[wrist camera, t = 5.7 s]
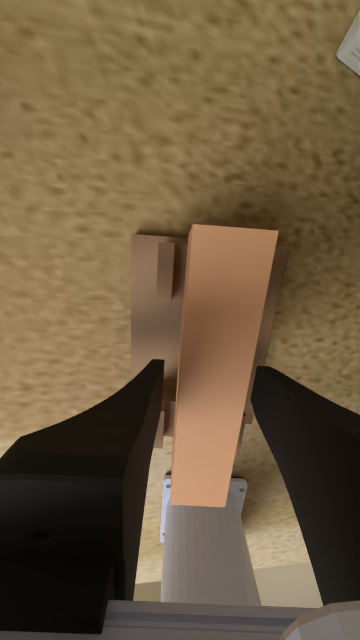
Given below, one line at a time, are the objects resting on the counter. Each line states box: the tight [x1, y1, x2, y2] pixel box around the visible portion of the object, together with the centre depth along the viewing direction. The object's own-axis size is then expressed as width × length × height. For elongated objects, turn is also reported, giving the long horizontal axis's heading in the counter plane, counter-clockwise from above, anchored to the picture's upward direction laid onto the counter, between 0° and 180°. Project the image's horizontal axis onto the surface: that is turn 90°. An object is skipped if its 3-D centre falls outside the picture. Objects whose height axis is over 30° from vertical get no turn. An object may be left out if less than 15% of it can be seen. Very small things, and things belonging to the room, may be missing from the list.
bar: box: [170, 224, 279, 507], centre depth 11 cm, size 14×3×4 cm, turn 176°
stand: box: [131, 234, 290, 453], centre depth 14 cm, size 14×10×4 cm
